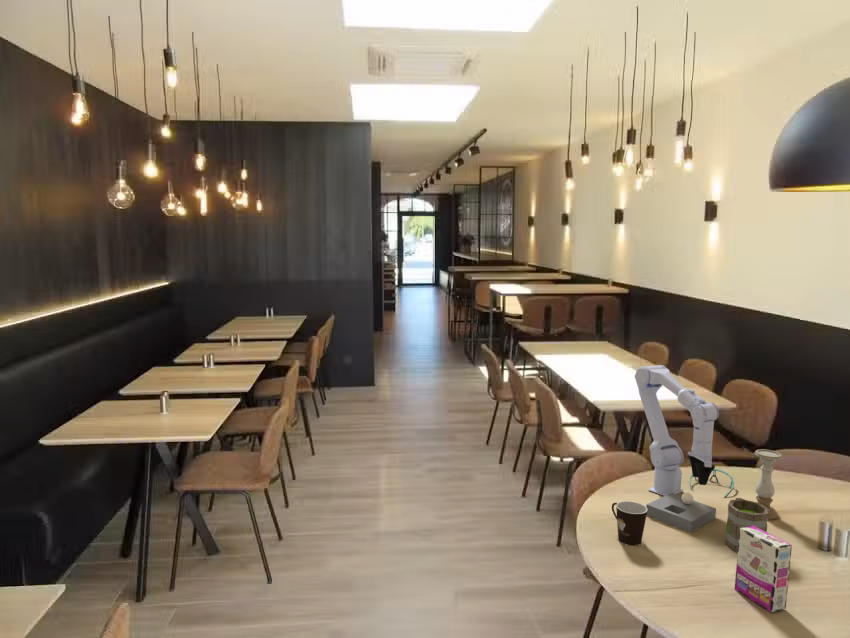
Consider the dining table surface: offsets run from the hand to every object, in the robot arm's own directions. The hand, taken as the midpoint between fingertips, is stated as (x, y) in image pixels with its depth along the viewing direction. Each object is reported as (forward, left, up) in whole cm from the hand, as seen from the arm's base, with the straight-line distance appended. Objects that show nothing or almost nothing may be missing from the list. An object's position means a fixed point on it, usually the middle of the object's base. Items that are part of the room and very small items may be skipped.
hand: (699, 480), depth 205 cm
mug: (+12, +20, -10) cm, 25 cm away
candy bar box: (+38, +36, -10) cm, 53 cm away
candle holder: (-13, +15, -10) cm, 22 cm away
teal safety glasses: (-21, -6, -10) cm, 24 cm away
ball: (+7, 0, -4) cm, 8 cm away
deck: (+11, 0, -9) cm, 14 cm away
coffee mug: (+36, -2, -10) cm, 37 cm away
